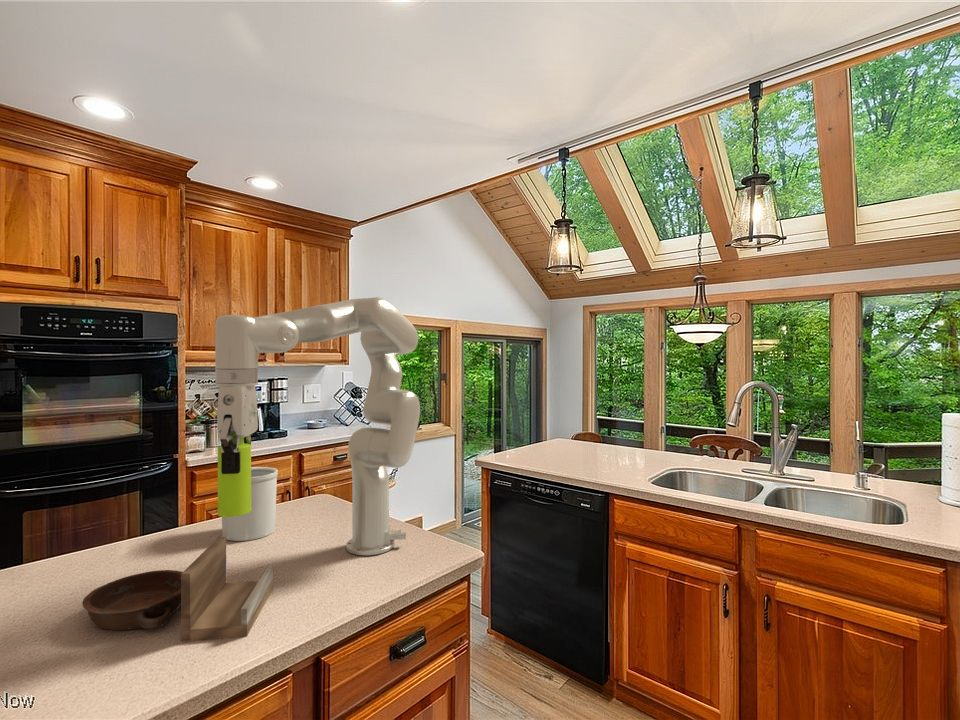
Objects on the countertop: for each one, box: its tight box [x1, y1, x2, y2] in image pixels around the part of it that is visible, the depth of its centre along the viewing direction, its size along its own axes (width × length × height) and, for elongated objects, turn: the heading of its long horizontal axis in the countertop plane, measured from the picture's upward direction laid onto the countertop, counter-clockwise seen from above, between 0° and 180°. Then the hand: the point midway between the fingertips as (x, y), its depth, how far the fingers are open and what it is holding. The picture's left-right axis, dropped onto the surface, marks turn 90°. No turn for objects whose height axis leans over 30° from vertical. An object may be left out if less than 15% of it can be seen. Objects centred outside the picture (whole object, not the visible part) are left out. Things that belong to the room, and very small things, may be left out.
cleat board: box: [180, 536, 274, 642], centre depth 96 cm, size 11×18×12 cm, turn 9°
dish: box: [81, 569, 184, 631], centre depth 96 cm, size 18×22×5 cm
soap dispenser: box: [217, 411, 258, 518], centre depth 96 cm, size 6×7×20 cm
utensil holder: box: [221, 466, 279, 542], centre depth 140 cm, size 15×15×18 cm
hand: (236, 468), depth 96 cm, fingers closed on soap dispenser, 5 cm apart
